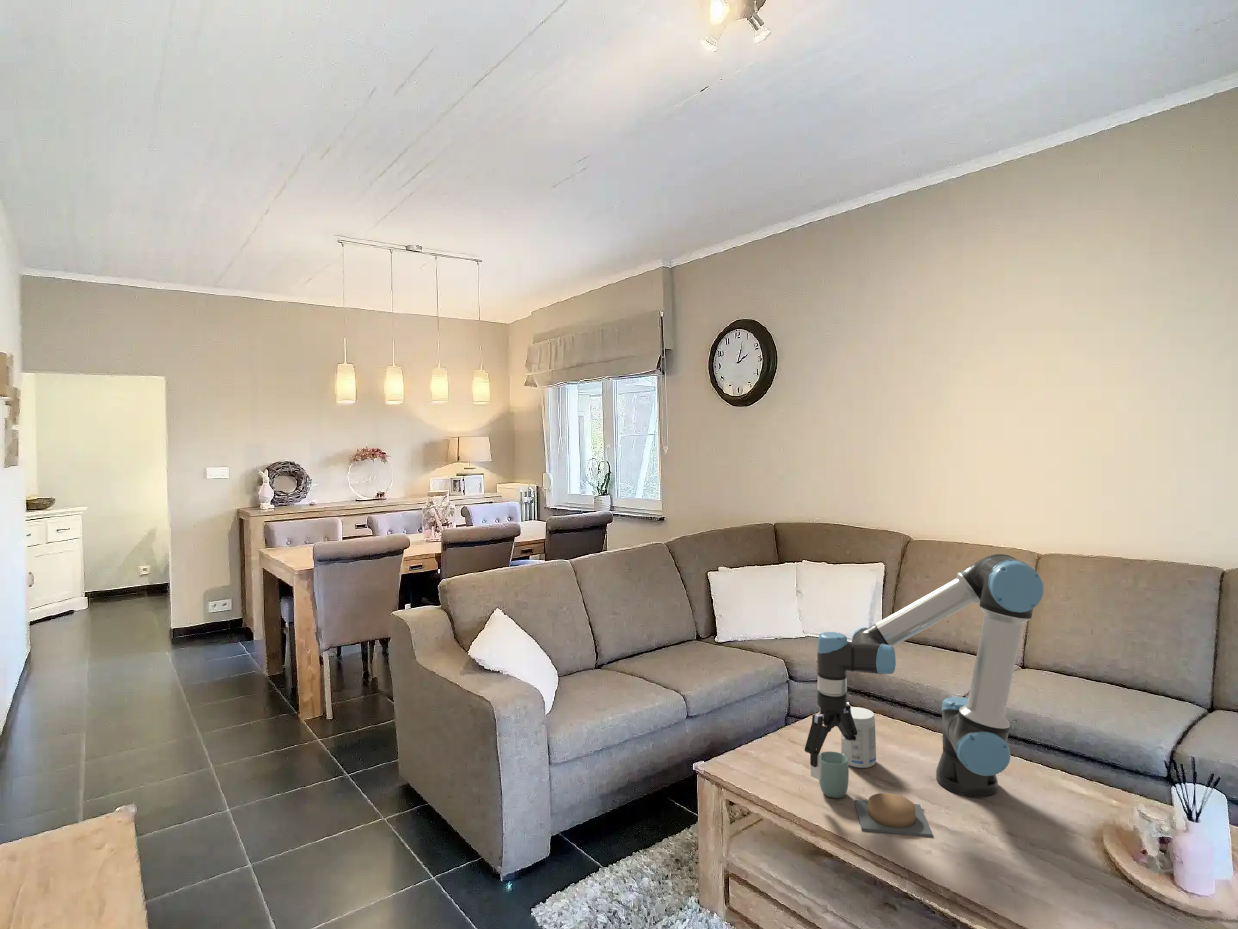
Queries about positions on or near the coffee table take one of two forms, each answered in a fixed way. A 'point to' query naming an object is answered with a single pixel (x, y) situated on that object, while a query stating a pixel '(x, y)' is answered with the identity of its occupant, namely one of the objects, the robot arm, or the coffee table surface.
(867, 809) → the stand
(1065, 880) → the coffee table surface
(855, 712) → the supplement tub
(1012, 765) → the coffee table surface
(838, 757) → the cup
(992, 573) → the robot arm
